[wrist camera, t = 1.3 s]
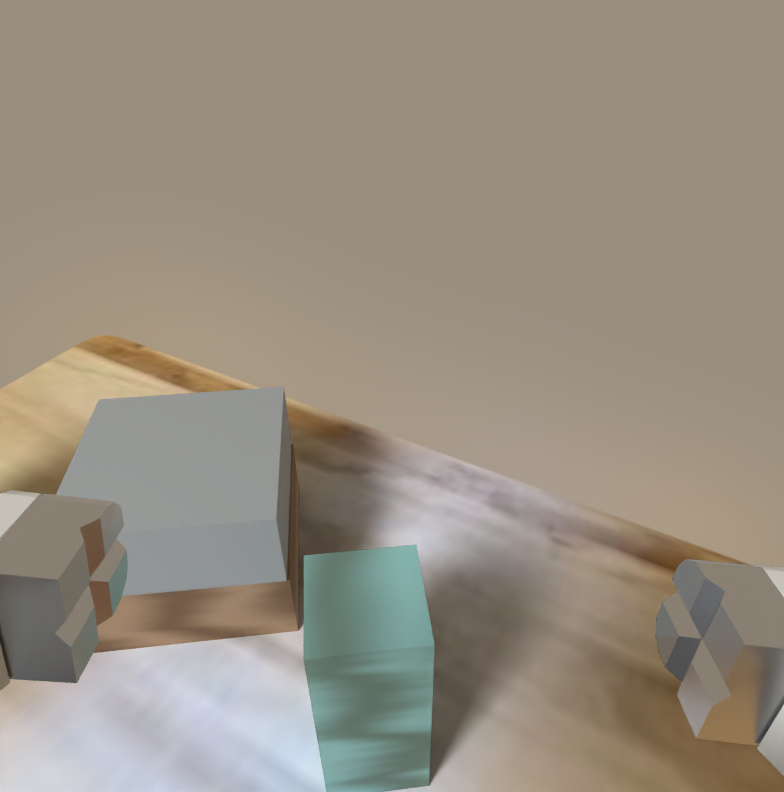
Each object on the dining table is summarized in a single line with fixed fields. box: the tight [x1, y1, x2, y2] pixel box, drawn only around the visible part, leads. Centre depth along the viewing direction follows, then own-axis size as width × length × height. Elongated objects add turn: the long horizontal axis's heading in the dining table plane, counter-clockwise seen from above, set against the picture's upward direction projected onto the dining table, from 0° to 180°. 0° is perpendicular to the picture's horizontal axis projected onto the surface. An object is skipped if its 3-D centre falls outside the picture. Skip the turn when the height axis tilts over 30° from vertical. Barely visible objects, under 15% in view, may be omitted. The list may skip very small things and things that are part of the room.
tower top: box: [56, 387, 292, 596], centre depth 39 cm, size 12×12×5 cm
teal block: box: [304, 545, 435, 792], centre depth 30 cm, size 5×5×12 cm
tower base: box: [94, 444, 299, 653], centre depth 42 cm, size 12×12×5 cm
